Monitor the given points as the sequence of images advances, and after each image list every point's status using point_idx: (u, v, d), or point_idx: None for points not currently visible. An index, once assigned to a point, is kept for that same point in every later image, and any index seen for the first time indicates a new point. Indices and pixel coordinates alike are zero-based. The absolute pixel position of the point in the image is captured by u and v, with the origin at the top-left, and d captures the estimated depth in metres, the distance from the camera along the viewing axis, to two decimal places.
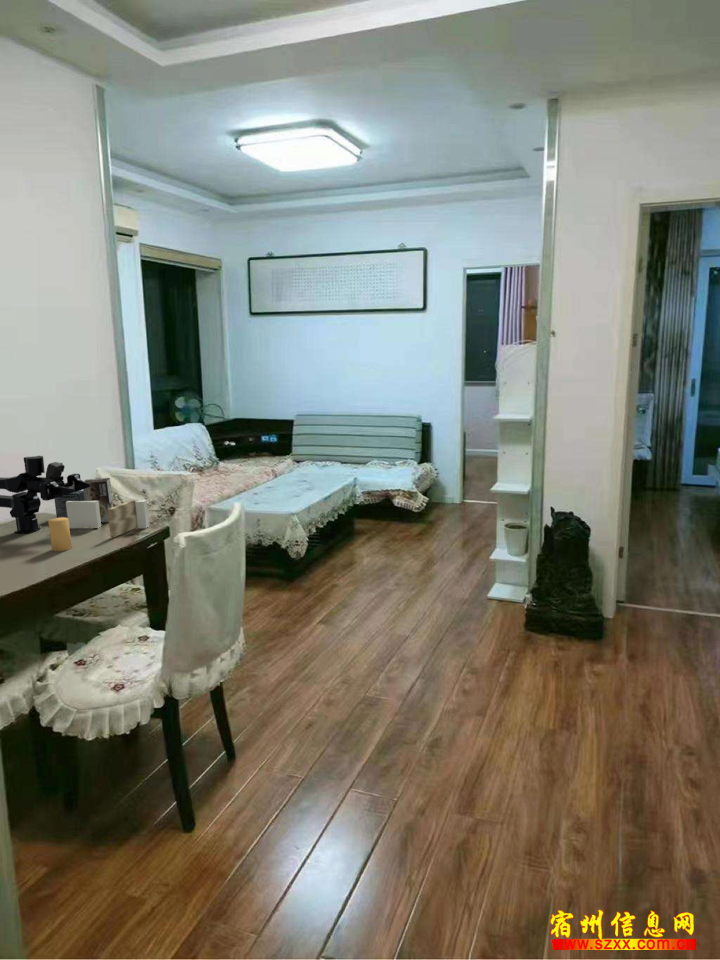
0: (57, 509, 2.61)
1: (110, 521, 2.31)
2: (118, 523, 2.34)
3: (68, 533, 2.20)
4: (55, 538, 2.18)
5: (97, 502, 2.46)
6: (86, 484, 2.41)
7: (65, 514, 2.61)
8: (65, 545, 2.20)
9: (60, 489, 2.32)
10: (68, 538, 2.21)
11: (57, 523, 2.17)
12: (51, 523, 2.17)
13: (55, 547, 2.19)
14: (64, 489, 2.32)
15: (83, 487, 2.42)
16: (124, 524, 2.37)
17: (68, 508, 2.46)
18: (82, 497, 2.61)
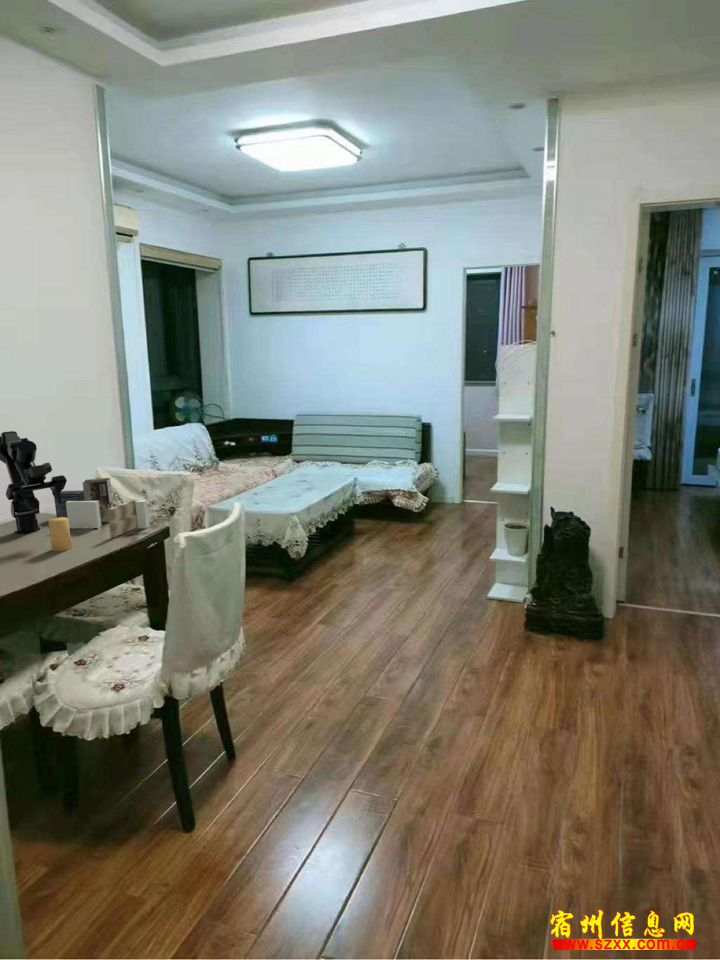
0: (57, 509, 2.61)
1: (110, 521, 2.31)
2: (118, 523, 2.34)
3: (68, 533, 2.20)
4: (55, 538, 2.18)
5: (97, 502, 2.46)
6: (58, 500, 2.28)
7: (65, 514, 2.61)
8: (65, 545, 2.20)
9: (24, 499, 2.21)
10: (68, 538, 2.21)
11: (57, 523, 2.17)
12: (51, 523, 2.17)
13: (55, 547, 2.19)
14: (26, 502, 2.21)
15: (56, 499, 2.29)
16: (124, 524, 2.37)
17: (68, 508, 2.46)
18: (82, 497, 2.61)
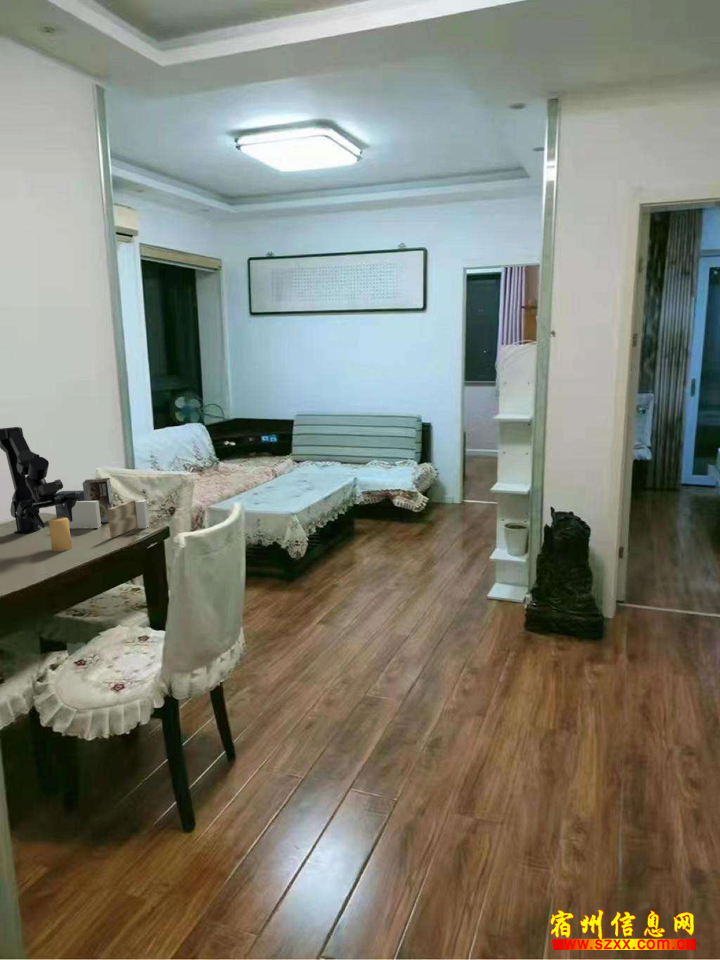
0: (57, 509, 2.61)
1: (110, 521, 2.31)
2: (118, 523, 2.34)
3: (68, 533, 2.20)
4: (55, 538, 2.18)
5: (97, 502, 2.46)
6: (69, 517, 2.24)
7: None
8: (65, 545, 2.20)
9: (35, 517, 2.17)
10: (68, 538, 2.21)
11: (57, 523, 2.17)
12: (51, 523, 2.17)
13: (55, 547, 2.19)
14: (37, 520, 2.17)
15: (67, 516, 2.25)
16: (124, 524, 2.37)
17: None
18: (82, 497, 2.61)
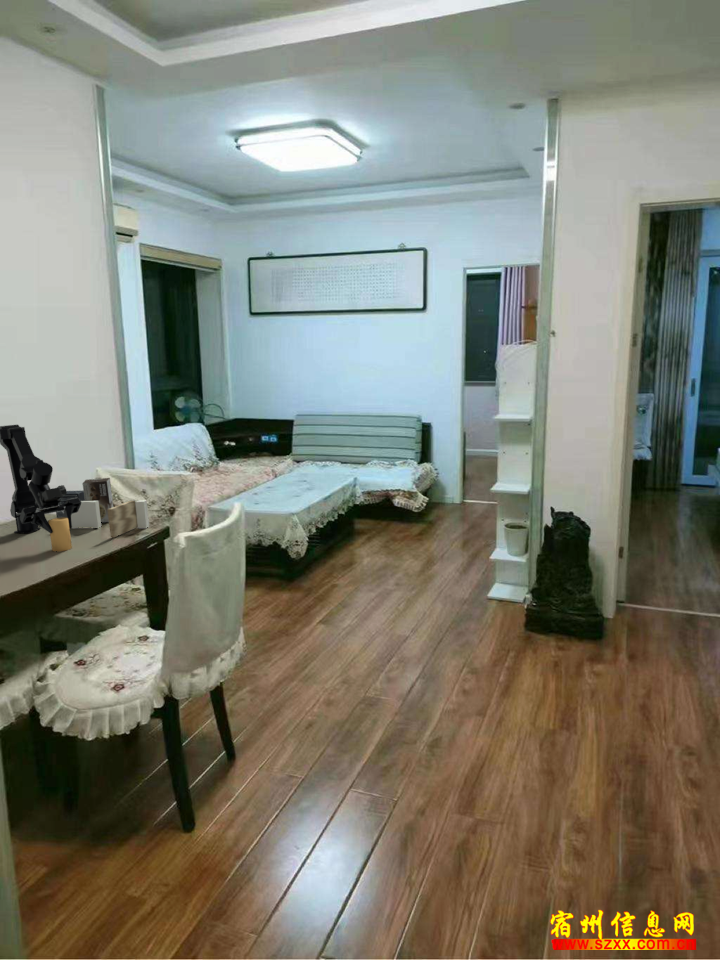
0: None
1: (110, 521, 2.31)
2: (118, 523, 2.34)
3: (68, 533, 2.20)
4: (55, 538, 2.18)
5: (97, 502, 2.46)
6: (69, 524, 2.22)
7: None
8: (65, 545, 2.20)
9: (43, 522, 2.18)
10: (68, 538, 2.21)
11: (57, 523, 2.17)
12: (51, 523, 2.17)
13: (55, 547, 2.19)
14: (45, 525, 2.17)
15: None
16: (124, 524, 2.37)
17: None
18: (82, 497, 2.61)
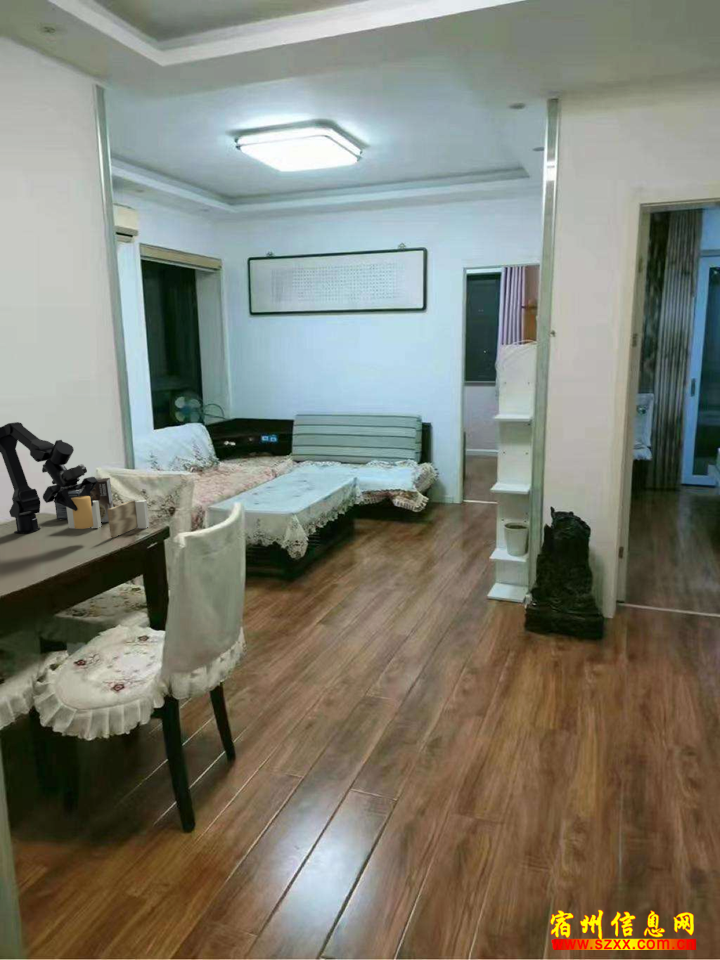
0: (57, 509, 2.61)
1: (110, 521, 2.31)
2: (118, 523, 2.34)
3: (91, 510, 2.27)
4: (80, 516, 2.24)
5: (97, 502, 2.46)
6: None
7: (65, 514, 2.61)
8: (89, 522, 2.26)
9: (67, 500, 2.22)
10: (91, 515, 2.27)
11: (82, 501, 2.23)
12: (76, 501, 2.23)
13: (80, 525, 2.24)
14: (70, 503, 2.22)
15: None
16: (124, 524, 2.37)
17: (68, 508, 2.46)
18: None
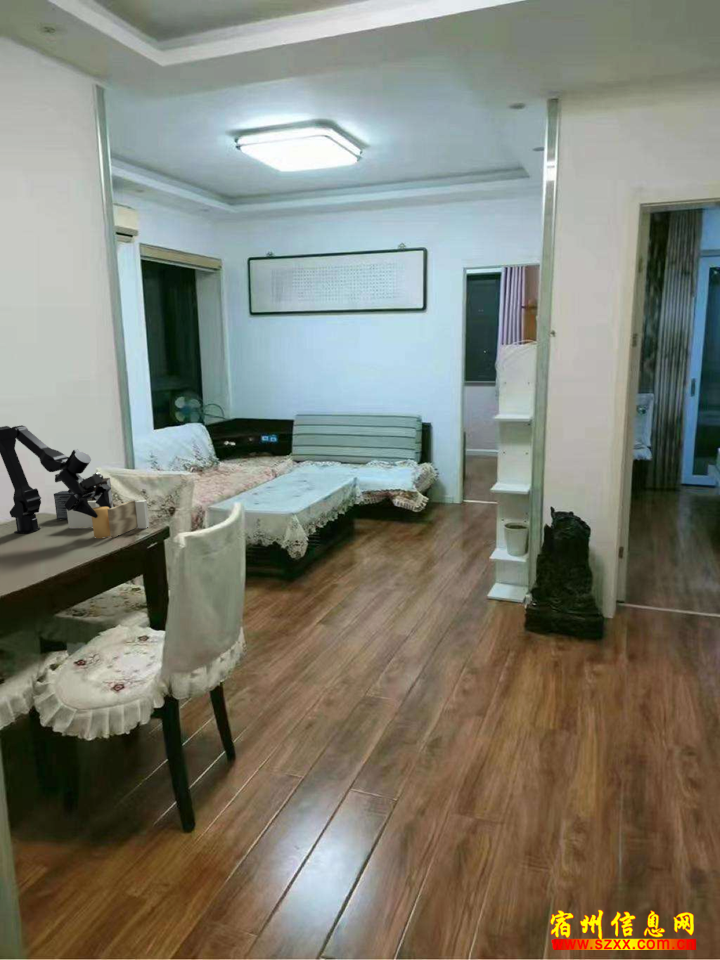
0: (57, 509, 2.61)
1: (110, 521, 2.31)
2: (118, 523, 2.34)
3: None
4: (101, 526, 2.32)
5: None
6: (109, 508, 2.37)
7: (65, 514, 2.61)
8: (109, 532, 2.34)
9: (87, 508, 2.29)
10: None
11: (103, 511, 2.32)
12: (97, 511, 2.31)
13: (101, 534, 2.33)
14: (90, 511, 2.29)
15: None
16: (124, 524, 2.37)
17: None
18: None
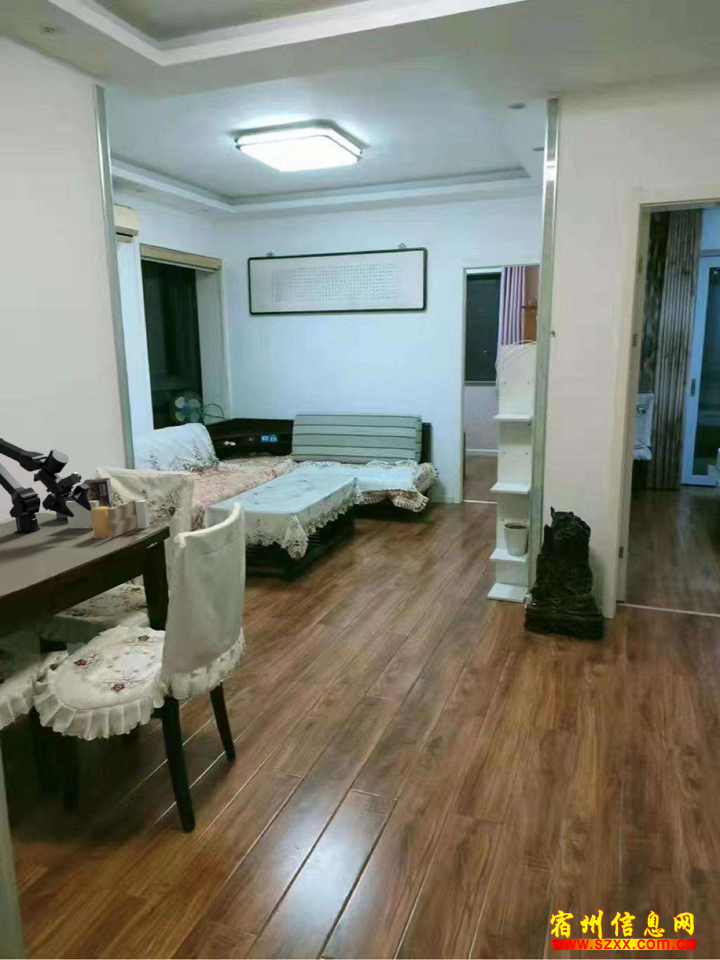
0: None
1: (110, 521, 2.31)
2: (118, 523, 2.34)
3: None
4: (101, 526, 2.32)
5: (97, 502, 2.46)
6: (88, 507, 2.40)
7: None
8: None
9: (63, 508, 2.31)
10: None
11: (103, 511, 2.32)
12: (97, 511, 2.31)
13: (101, 534, 2.33)
14: (66, 510, 2.31)
15: (84, 506, 2.41)
16: (124, 524, 2.37)
17: None
18: None
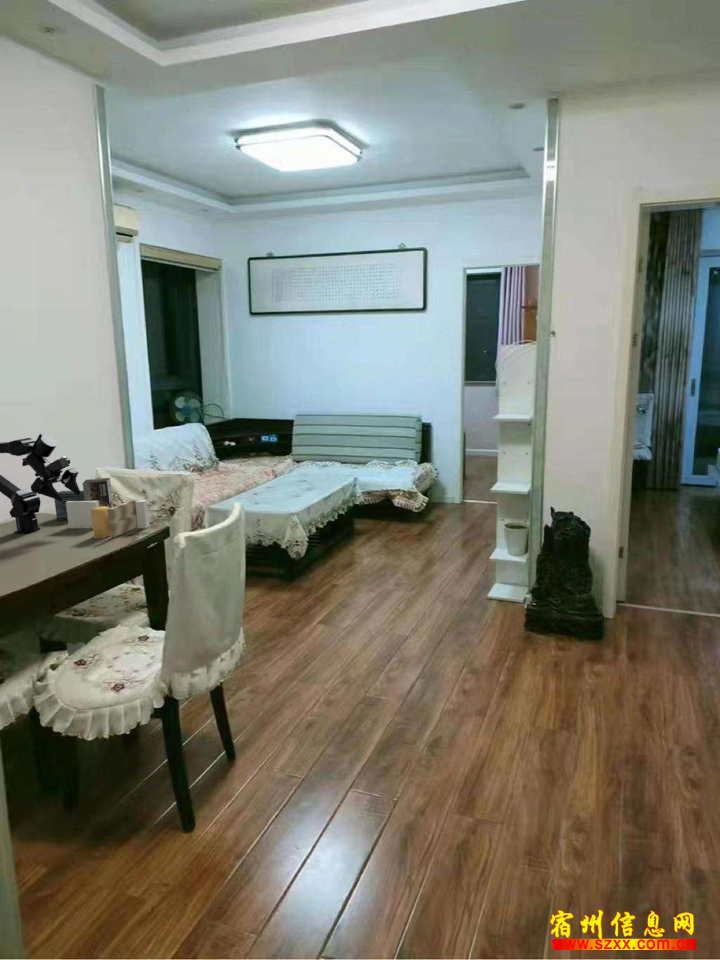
0: (57, 509, 2.61)
1: (110, 521, 2.31)
2: (118, 523, 2.34)
3: None
4: (101, 526, 2.32)
5: (97, 502, 2.46)
6: (77, 491, 2.41)
7: (65, 514, 2.61)
8: None
9: (51, 491, 2.31)
10: None
11: (103, 511, 2.32)
12: (97, 511, 2.31)
13: (101, 534, 2.33)
14: (55, 494, 2.32)
15: (73, 490, 2.42)
16: (124, 524, 2.37)
17: (68, 508, 2.46)
18: (82, 497, 2.61)
